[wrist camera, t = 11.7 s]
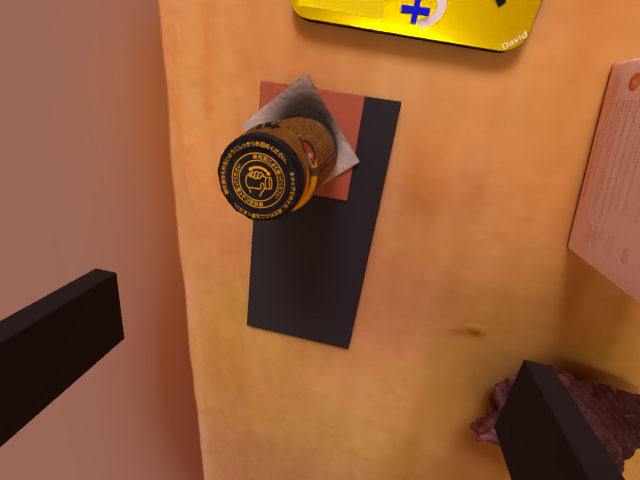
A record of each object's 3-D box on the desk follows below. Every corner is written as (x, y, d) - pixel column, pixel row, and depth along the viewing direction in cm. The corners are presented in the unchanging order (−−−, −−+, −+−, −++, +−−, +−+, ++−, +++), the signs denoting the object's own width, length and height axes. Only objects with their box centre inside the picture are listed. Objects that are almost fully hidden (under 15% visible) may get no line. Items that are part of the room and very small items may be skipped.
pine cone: (645, 340, 32) (742, 466, 26) (586, 374, 40) (649, 477, 33) (463, 368, 31) (517, 504, 25) (439, 396, 39) (475, 506, 33)
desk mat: (348, 345, 39) (347, 350, 38) (248, 322, 40) (246, 326, 39) (401, 102, 28) (401, 101, 28) (263, 81, 30) (260, 81, 29)
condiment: (294, 202, 32) (247, 253, 22) (241, 124, 31) (161, 136, 20) (359, 161, 30) (344, 195, 19) (306, 73, 28) (255, 55, 17)
